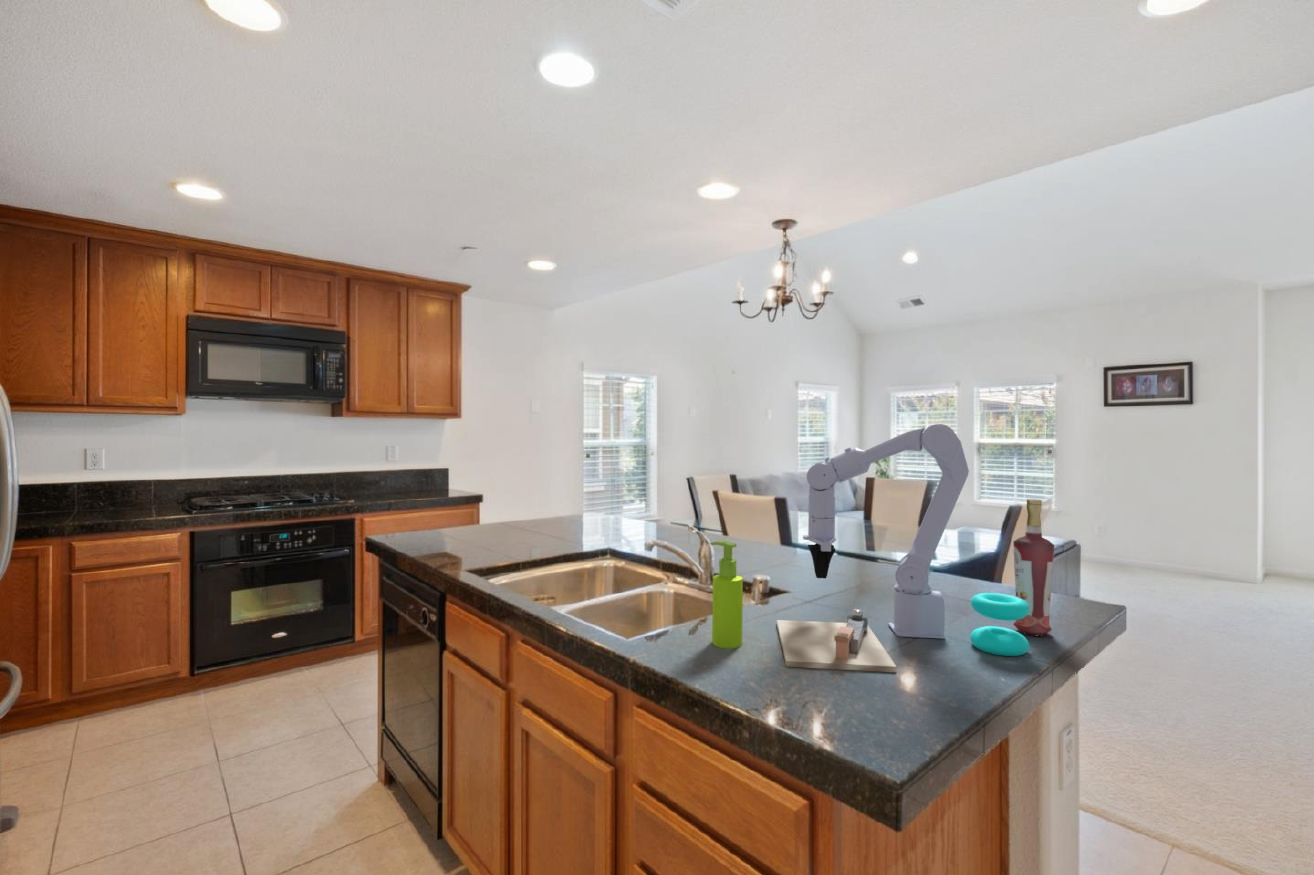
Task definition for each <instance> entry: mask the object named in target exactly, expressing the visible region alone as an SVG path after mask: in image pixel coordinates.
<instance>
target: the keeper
mask: <svg viewBox="0 0 1314 875" xmlns="http://www.w3.org/2000/svg"><path fill="white" fill-rule="evenodd" d="M853 635H854V628H849V627H842V626H841V627H840V628H839V629H838V631H837V632H836V634H835V635H834V641H836V658H841V659H846V660H847V659H848V657H849V642H850V640H851V638H852V636H853Z"/></svg>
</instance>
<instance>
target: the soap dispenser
mask: <svg viewBox="0 0 1314 875" xmlns="http://www.w3.org/2000/svg"><path fill="white" fill-rule="evenodd" d="M709 544H710V546H721V547H723V557H721V558H719V562H718V565H719V566H718V567H719V568H718V569H719V570H718V574H715V575H713V576H712V630H711V631H712V632H711V634H712V635H711V637H712V645H713V646H715V647H717V648H721V649H736V648H739V647H741V646H742V645H743V600H744V598H743V594H744V593H743V587H744V586H743V585H744V584H743V583H744V582H743V580H744V579H743V577H742V576H741V575H738V574H737V559H735V558H734V557H733V548H737V543H734V542H731V541H727V540H719V541H714V542H709Z"/></svg>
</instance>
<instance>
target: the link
mask: <svg viewBox="0 0 1314 875" xmlns="http://www.w3.org/2000/svg"><path fill="white" fill-rule="evenodd" d="M863 611H864V610H862V609H858V608H853V609H852V614H850V615H847V619H846V620H847V622H846V623H847V625H846V627H849V628H854V635H853V636H852V638H851V640H850V642H849V652H852V653H858V651H859V648H860V645H861V642H862V639H863V635H864V633H865V632H867V631H868V626H869V622H868V621H869V620H868V619H869V618H868V617H867V616H865V615H863Z"/></svg>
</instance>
